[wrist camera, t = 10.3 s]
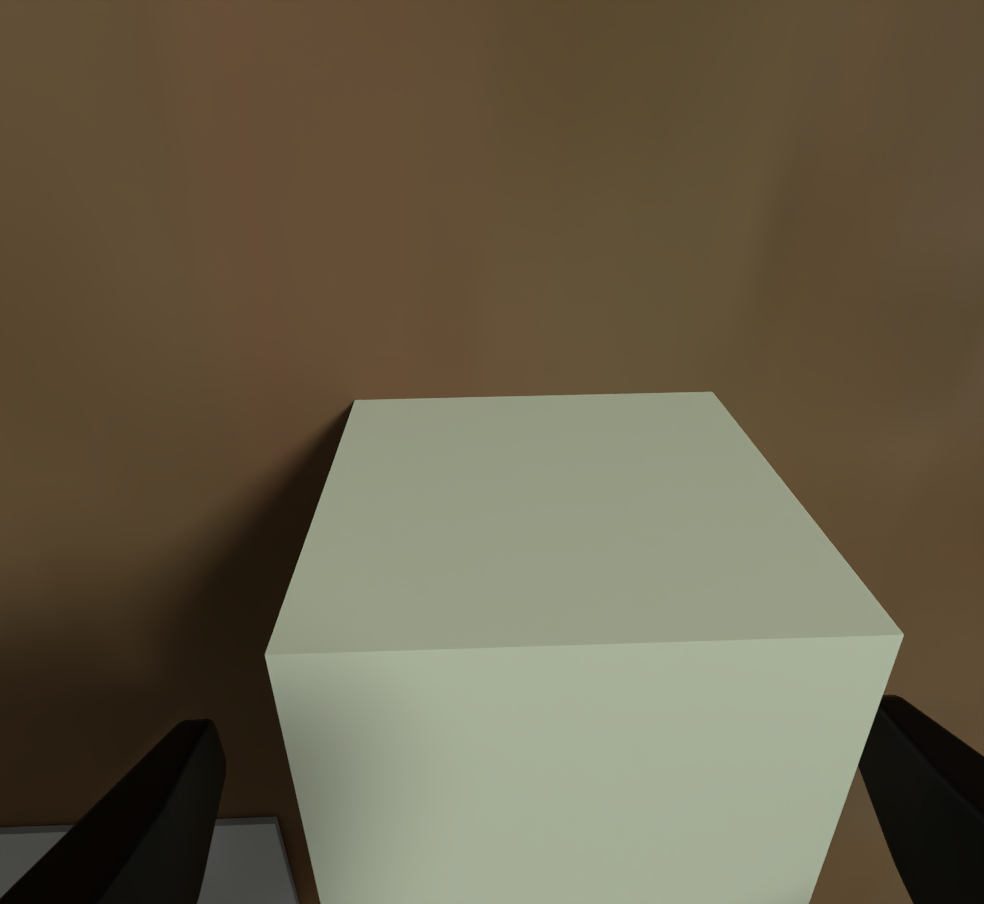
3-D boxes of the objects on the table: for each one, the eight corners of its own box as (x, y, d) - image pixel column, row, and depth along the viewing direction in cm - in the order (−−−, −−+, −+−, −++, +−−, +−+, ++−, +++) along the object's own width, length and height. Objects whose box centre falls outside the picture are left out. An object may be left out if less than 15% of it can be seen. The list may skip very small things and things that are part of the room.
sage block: (709, 387, 10) (903, 633, 5) (654, 763, 14) (742, 1090, 9) (356, 395, 10) (263, 654, 5) (399, 772, 14) (365, 1107, 9)
